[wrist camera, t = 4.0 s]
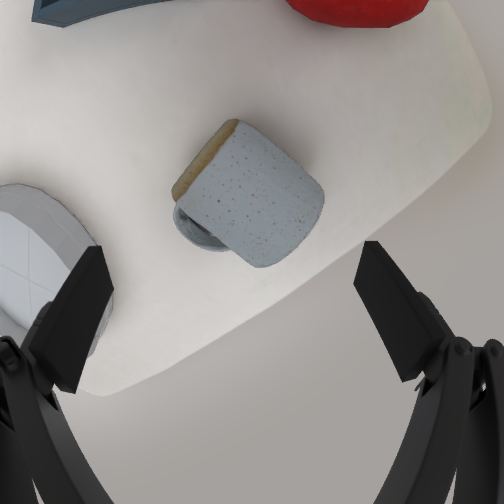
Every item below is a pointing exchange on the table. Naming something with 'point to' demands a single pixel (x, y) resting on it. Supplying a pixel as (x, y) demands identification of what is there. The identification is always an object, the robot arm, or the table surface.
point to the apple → (359, 12)
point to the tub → (78, 10)
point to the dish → (36, 257)
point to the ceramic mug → (246, 197)
